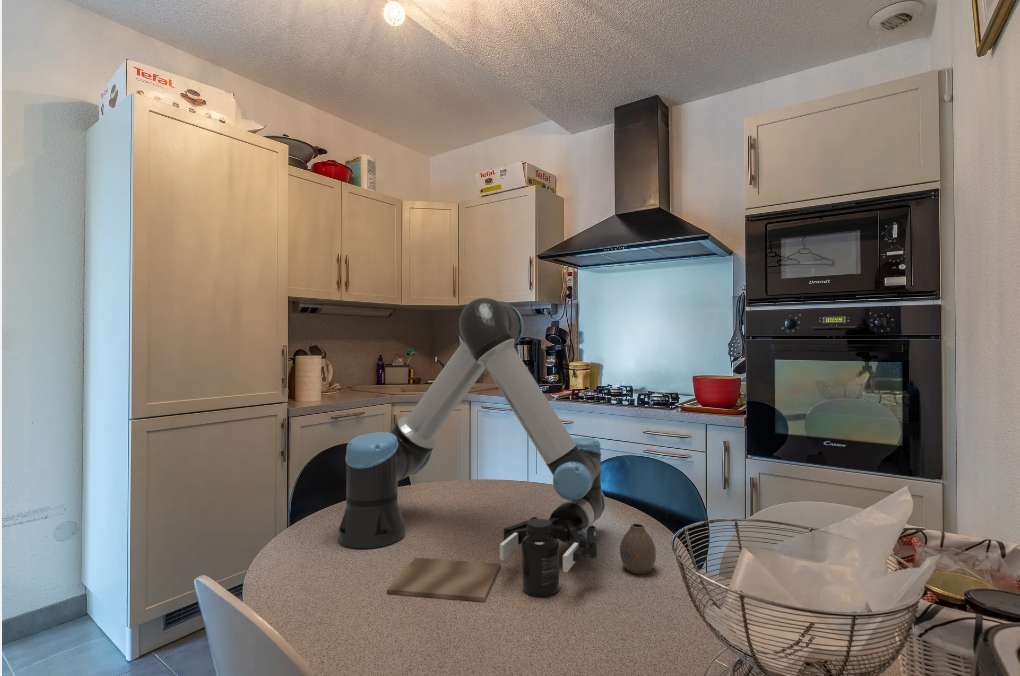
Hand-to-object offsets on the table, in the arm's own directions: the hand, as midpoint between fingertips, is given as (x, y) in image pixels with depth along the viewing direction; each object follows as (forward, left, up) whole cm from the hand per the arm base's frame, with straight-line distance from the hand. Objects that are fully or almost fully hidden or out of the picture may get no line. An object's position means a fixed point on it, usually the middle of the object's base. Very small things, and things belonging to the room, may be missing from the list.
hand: (532, 558), depth 89 cm
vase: (+19, +15, -7) cm, 25 cm away
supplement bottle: (+1, +4, -7) cm, 8 cm away
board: (-17, +4, -7) cm, 19 cm away
